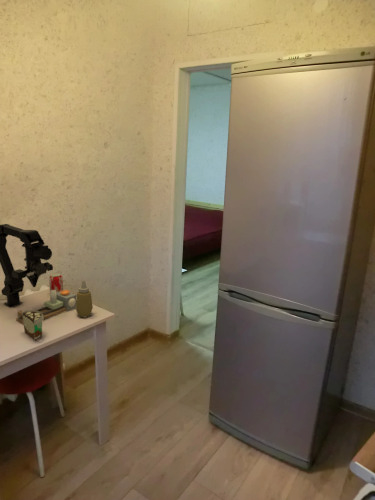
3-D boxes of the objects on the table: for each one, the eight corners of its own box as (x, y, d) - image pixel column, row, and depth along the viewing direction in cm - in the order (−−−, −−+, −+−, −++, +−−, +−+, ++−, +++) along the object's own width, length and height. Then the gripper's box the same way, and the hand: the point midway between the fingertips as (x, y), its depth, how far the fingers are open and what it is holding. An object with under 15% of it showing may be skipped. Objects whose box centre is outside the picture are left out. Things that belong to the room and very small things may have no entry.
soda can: (58, 297, 192) (58, 277, 188) (47, 296, 193) (46, 275, 190) (65, 293, 198) (65, 273, 195) (54, 291, 200) (53, 271, 196)
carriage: (44, 306, 174) (43, 291, 171) (54, 302, 178) (53, 287, 176) (53, 309, 170) (52, 294, 168) (63, 305, 175) (62, 291, 173)
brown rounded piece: (58, 299, 179) (58, 291, 178) (65, 296, 182) (65, 289, 181) (64, 301, 177) (64, 293, 176) (71, 298, 180) (71, 291, 179)
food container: (50, 337, 150) (48, 316, 148) (36, 342, 146) (34, 320, 143) (36, 327, 158) (35, 307, 155) (23, 332, 153) (21, 311, 151)
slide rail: (16, 321, 163) (15, 312, 162) (55, 306, 181) (55, 298, 180) (27, 326, 158) (27, 317, 157) (67, 310, 176) (66, 302, 175)
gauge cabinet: (54, 306, 181) (53, 293, 179) (64, 302, 186) (63, 290, 184) (67, 311, 175) (67, 298, 174) (77, 307, 180) (76, 295, 179)
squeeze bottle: (75, 312, 175) (74, 278, 170) (92, 310, 178) (91, 277, 173) (76, 319, 168) (75, 284, 163) (93, 317, 170) (92, 283, 166)
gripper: (24, 264, 155) (26, 296, 159) (59, 255, 170) (60, 285, 174) (9, 259, 161) (12, 290, 165) (45, 251, 176) (46, 280, 180)
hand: (34, 286), depth 171 cm, fingers closed
